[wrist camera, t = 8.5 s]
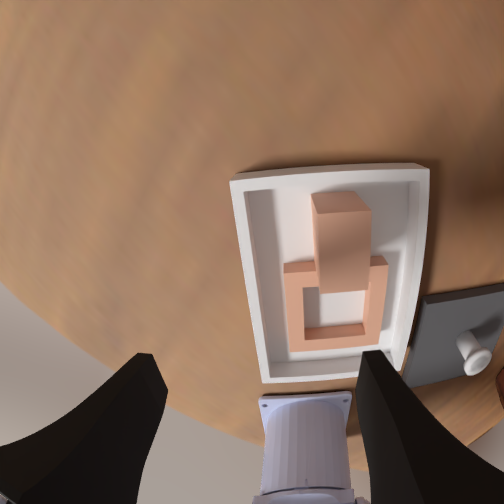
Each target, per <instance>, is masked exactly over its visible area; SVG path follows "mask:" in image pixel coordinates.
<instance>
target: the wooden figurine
mask: <svg viewBox="0 0 504 504" xmlns="http://www.w3.org/2000/svg"><path fill="white" fill-rule="evenodd" d="M496 387H497V391H498V393H499V397H500V401H501V404H502V406H503V409H504V368H503V369H502V371H501V372H500V373H499V374H498V376H497V378H496Z"/></svg>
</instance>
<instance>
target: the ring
mask: <svg viewBox="0 0 504 504" xmlns="http://www.w3.org/2000/svg"><path fill="white" fill-rule="evenodd" d="M310 195H311V209H312V225H313V244H314V261H308V262H295V263H283V275H284V286H285V298H286V310H287V322H288V335H289V349H290V352H303V351H317V350H329V349H340V348H350V347H359V346H368V345H376V344H378V343H379V337H380V331H381V325H382V318H383V311H384V303H385V295H386V287H387V277H388V267H389V265H388V263H387V261H386V260H385V258H384V257H383V256H372V257H370V254H371V221H372V211H371V209H370V208H369V207H368V206H367V205H366V204H365V203H364V201H363V200H362V199H361V198H360V197H359V196H358V195H357V194H356V193H355V192H354V191H346V192H330V193H315V194H310ZM317 286H319V290H320V294H328V293H340V292H351V291H362V290H365V299H364V310H363V320H362V323H361V324H351V325H341V326H330V327H318V328H304V310H303V289H302V288H304V287H317Z"/></svg>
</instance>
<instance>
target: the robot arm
mask: <svg viewBox="0 0 504 504" xmlns="http://www.w3.org/2000/svg"><path fill="white" fill-rule="evenodd" d="M355 391H356V401H357V411H358V418H359V423H360V428H361V432H362V437H363V442H364V447H365V452H366V457H367V462H368V467H369V474H370V487H371V504H504V472H502V471H501V470H499V469H497V468H496V467H494V466H492V465H491V464H489V463H488V462H486V461H485V460H483V459H482V458H481V457H479V456H478V455H477V454H475V453H474V452H473V451H471V450H470V449H469V448H467V447H466V446H465V445H464V444H462V443H461V442H460V441H459V440H458V439H457V438H455V437H454V436H453V435H452V434H451V433H450V432H449V431H448V430H447V429H446V428H445V427H444V426H443V425H442V424H441V423H440V422H439V421H438V420H437V419H436V418H435V417H434V416H433V415H432V414H431V413H430V412H429V411H428V409H427V408H426V407H425V406H424V405H423V404H422V403H421V401H420V400H419V399H418V398H417V397H416V395H415V394H414V393H413V392H412V390H411V389H410V388H409V387H408V386H407V384H406V383H405V382H404V380H403V379H402V378H401V376H400V375H399V374H398V372H397V371H396V370H395V368H394V367H393V366H392V364H391V363H390V361H389V360H388V359H387V357H386V356H385V354H384V353H383V352H382V351H381V350H380V349H379V350H371V351H363V352H362V358H361V363H360V369H359V374H358V379H357V384H356V389H355ZM167 394H168V389H167V386H166V384H165V382H164V380H163V378H162V376H161V373H160V371H159V369H158V367H157V364H156V362H155V360H154V357H153V355H152V354H146V353H137V354H136V355H135V356H133V357H132V358H131V359H130V360H129V361H128V362H127V363H126V364H125V365H123V366H122V367H121V368H120V369H119V370H118V371H117V372H116V373H115V374H114V375H113V376H112V377H111V378H110V379H108V380H107V381H106V382H105V383H104V384H103V385H102V386H101V387H99V388H98V389H97V390H96V391H95V392H94V393H93V394H91V395H90V396H89V397H88V398H87V399H85V400H84V401H83V402H82V403H80V404H79V405H78V406H77V407H76V408H74V409H73V410H72V411H70V412H69V413H67V414H66V415H64V416H63V417H61V418H60V419H58V420H57V421H55V422H54V423H52V424H50V425H48V426H47V427H45V428H43V429H41V430H39V431H38V432H36V433H34V434H32V435H30V436H28V437H25V438H23V439H21V440H18V441H15V442H13V443H10V444H7V445H4V446H0V494H1V495H0V504H136V503H137V496H138V491H139V486H140V481H141V477H142V472H143V468H144V465H145V461H146V459H147V456H148V453H149V450H150V448H151V445H152V442H153V440H154V437H155V434H156V432H157V429H158V426H159V423H160V421H161V418H162V415H163V412H164V408H165V403H166V399H167ZM351 400H352V393H351V392H350V391H342V392H331V393H320V394H306V395H286V396H262V397H260V398H259V407H260V411H261V416H262V421H263V426H264V430H265V435H266V438H265V451H264V460H263V470H262V480H261V490H260V496H254V497H253V503H252V504H370V502H368V501H367V500H365V499H364V498H363V497H357V498H356V499H355V501H354V489H351V480H350V468H349V457H348V447H347V437H346V425H347V420H348V416H349V410H350V405H351ZM2 495H3V496H4V497H5V498H4V497H3V496H2ZM7 499H8V500H7Z"/></svg>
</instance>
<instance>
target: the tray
mask: <svg viewBox="0 0 504 504" xmlns="http://www.w3.org/2000/svg"><path fill="white" fill-rule="evenodd" d="M429 179H430V169H428V168H426V167H423V166H421V165H419V164H416V163H367V164H343V165H325V166H310V167H297V168H285V169H274V170H264V171H255V172H246V173H237V174H235V175H234V176H233V177H232V179H231V180H230V181H229V182H230V189H231V195H232V202H233V208H234V215H235V221H236V227H237V234H238V240H239V246H240V252H241V259H242V265H243V271H244V277H245V283H246V289H247V295H248V301H249V308H250V314H251V320H252V326H253V331H254V337H255V343H256V349H257V355H258V361H259V367H260V372H261V378H262V383H286V382H305V381H319V380H331V379H341V378H350V377H358V374H359V369H360V363H361V358H362V352H363V351H371V350H379V349H380V350H381V351H382V352H383V353H384V354H385V356H386V357H387V359H388V360H389V361H390V363H391V364H392V366H393V367H394V368H395V370H396V371H400V370H401V367H402V363H403V359H404V356H405V352H406V348H407V344H408V340H409V336H410V331H411V327H412V323H413V318H414V313H415V308H416V303H417V298H418V292H419V286H420V280H421V273H422V267H423V259H424V251H425V242H426V232H427V220H428V205H429ZM346 191H354V192H355V193H356V194H357V195H358V196H359V197H360V198H361V199H362V200H363V201H364V203H365V204H366V205H367V206H368V207H369V208H370V209H371V211H372V221H371V254H370V257H372V256H383V257H384V258H385V260H386V261H387V263H388V265H389V267H388V277H387V287H386V295H385V303H384V311H383V318H382V325H381V331H380V337H379V343H378V344H376V345H368V346H359V347H350V348H340V349H329V350H317V351H303V352H290V349H289V335H288V322H287V310H286V298H285V286H284V275H283V263H295V262H308V261H314V244H313V225H312V209H311V195H310V194H315V193H330V192H346ZM302 289H303V310H304V328H318V327H330V326H341V325H351V324H361V323H362V320H363V310H364V299H365V290H362V291H351V292H340V293H328V294H320V290H319V286H317V287H304V288H302Z"/></svg>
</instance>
